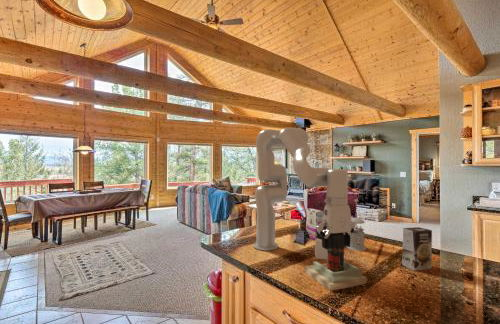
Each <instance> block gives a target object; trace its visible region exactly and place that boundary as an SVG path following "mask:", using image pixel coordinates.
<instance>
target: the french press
mask: <svg viewBox="0 0 500 324" xmlns="http://www.w3.org/2000/svg"><path fill="white" fill-rule="evenodd" d="M354 202H356V203H355V204H356V205H355V207H356V209H355V210H356V211H355V212H356V213H355V217H351V221H352V222H354V223H355V224H356V226H355V228H354V231H353V233H352V236H350V247H348V246H345V247H346V249H349V250H351V251H358V252H361V251H362V252H364V251H366V250H367V247H366V246H365V228H363V227H362V226H361V224H362V225H363V224H364V223H366V222H365V220H363V219H362V218H358V215H357V213H358V202H359V199H354ZM357 224H360V226H359V225H357Z"/></svg>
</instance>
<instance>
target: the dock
mask: <svg viewBox="0 0 500 324" xmlns="http://www.w3.org/2000/svg"><path fill="white" fill-rule="evenodd" d="M303 270H304V272H305V274H307V275H309V277H311V278H312V279H314V280H315V281H316V282H318V283H319V284H321V285H322V286H323V287H324V288H325V289H326V290H328V291H330V292H331V291H335V290H340V289H341V290H342V289H346V288H351V287H356V286H361V285H362V286H363V285H367V284H368V278H367V277H366V276H364V275H362V269H361V268H359V267H357V266H355V265H353V264H352V263H350V262H348V261H346V260H344V271H339V272H332V271H331V270H329V269H327V263H326V262H325V263H320V262H318V261H316V260H315V261H313V263H312V265H305V266H304V268H303ZM366 283H367V284H366Z"/></svg>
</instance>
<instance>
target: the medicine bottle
mask: <svg viewBox="0 0 500 324" xmlns="http://www.w3.org/2000/svg"><path fill="white" fill-rule="evenodd" d="M322 231H323V230H322ZM326 233H327V232H326ZM314 255H315V259H316V260H324V261H327V249H325V248H323V247H322V237H321V236H320V234H319V233H318V231H317V239H315V240H314Z"/></svg>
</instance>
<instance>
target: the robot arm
mask: <svg viewBox="0 0 500 324" xmlns="http://www.w3.org/2000/svg"><path fill="white" fill-rule="evenodd" d="M308 142H309V134H308V132H307V131H306V130H305V129H302V128H298V127H284V128H283V129H281V130H280V129H270V128H269V129H263V130H260V132H258V134H257V137H256V141H255V143H256V144H255V145H256V146H255V147H256V152H257V177H258V180H259V181H260V182H262V183H273V184H264V185H259V186H258V187H256V189H255V192H254V197H255V204H256V234H255V235H256V236H255V237H256V238H255V240H256V241H255V242H254V243H253V248H254V249H255V250H259V251H266V252H267V251H274V250H276V249H278V247H279V244H278V243H276V211H275V208H274V206H273V204H278V203H283V202H284V201H285V200H286V199H287V196H288V172H287V169H286V167H285V166H284V165H282V164H279V163H278V164H277V163H275V154H274V151H273V149H272V148H271V147H273V148H285V149H286V151H288V153H289V154H290V156H291V157H292V159H293V161H292V164H293V165H292V167H293V171H294V173H295V175H296V176H297V178H298V179H299V181H301V183H302V184H303V185H305V186H306V187H309V188H317V187H321V188H322V187H326V195H325V196H326V197H325V199H324V201H323V202H324V203H326V204H325V205H324V209H323V212H324V214H323V222H322V223H320V224H319V225H317V226H316V228H317V231H318V233H319V234H320V236H321V237H322V247H323V248H325V249H327V250H328V249H329V239H328V236H329V235H330V233H332V234H337V233H344V247H346V246H348V247H350V236H352V233H353V231H354V228H355V227H356V223H354V222H352V221H351V218H352V214H351V213H352V212H351V207H350V205H348V194H349V193H348V190H349V188H348V185H349V184H348V183H349V180H348V179H349V173H348V171H347V169H345V168H344V169H343V168H329V167H312V166H311V165H310V164H309V162H308V161H307V159H306V158H307V157H309V155H310V154H311V147H310V145H308ZM322 228H323V231H322ZM326 232H327V233H326Z"/></svg>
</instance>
